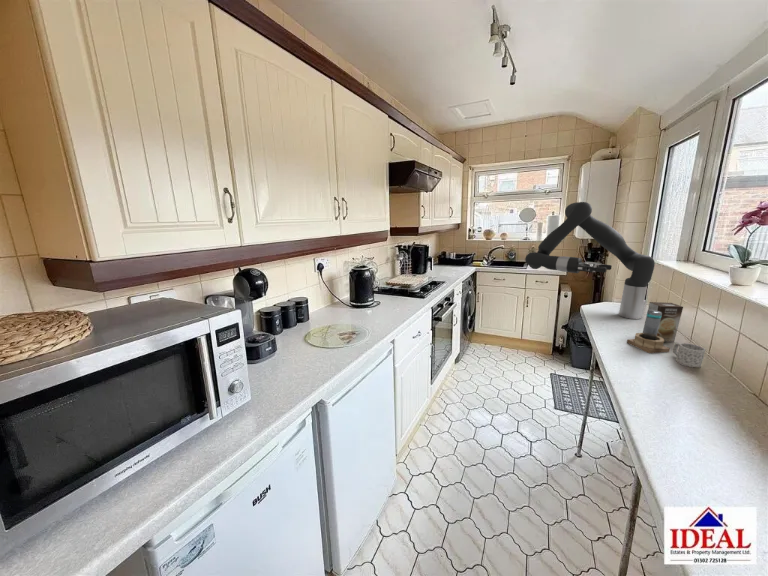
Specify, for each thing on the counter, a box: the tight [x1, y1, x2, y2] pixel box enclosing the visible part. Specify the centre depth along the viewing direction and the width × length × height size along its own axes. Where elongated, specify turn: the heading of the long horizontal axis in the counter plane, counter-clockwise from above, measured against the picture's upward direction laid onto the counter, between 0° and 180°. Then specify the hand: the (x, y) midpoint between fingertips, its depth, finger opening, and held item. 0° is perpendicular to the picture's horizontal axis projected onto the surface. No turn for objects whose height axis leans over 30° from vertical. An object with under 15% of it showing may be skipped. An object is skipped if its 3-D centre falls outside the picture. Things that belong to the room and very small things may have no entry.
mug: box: [672, 342, 706, 368], centre depth 112 cm, size 10×7×7 cm
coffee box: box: [642, 301, 684, 343], centre depth 131 cm, size 9×6×16 cm
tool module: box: [642, 309, 662, 341], centre depth 123 cm, size 4×4×14 cm
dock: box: [626, 332, 671, 354], centre depth 124 cm, size 9×10×4 cm
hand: (608, 268), depth 134 cm, fingers open, 8 cm apart
